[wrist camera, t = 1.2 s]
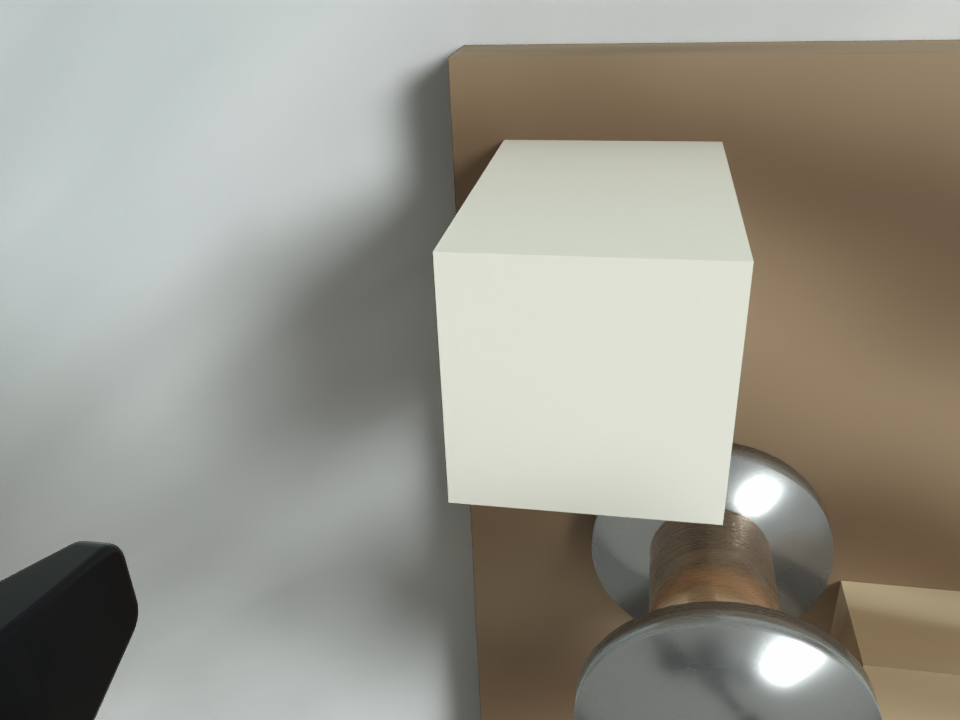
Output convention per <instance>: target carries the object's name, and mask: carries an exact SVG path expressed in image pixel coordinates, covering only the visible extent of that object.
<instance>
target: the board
mask: <svg viewBox="0 0 960 720" xmlns="http://www.w3.org/2000/svg"><path fill="white" fill-rule="evenodd" d="M448 62H449V82H450V102H451V123H452V143H453V163H454V184H455V204H456V214H457V213H458V211H459V210H460V208H461V207H462V205H463V204H464V202H465V200H466V199H467V197H468V196H469V194H470V193H471V191H472V189H473V188H474V186H475V185H476V183H477V182H478V180H479V178H480V177H481V175H482V174H483V172H484V171H485V169H486V167H487V166H488V164H489V163H490V161H491V160H492V158H493V156H494V155H495V153H496V152H497V150H498V149H499V147H500V145H501V144H502V142H503V141H504V140H583V141H704V142H723V146H724V150H725V154H726V158H727V161H728V165H729V169H730V173H731V177H732V181H733V184H734V188H735V192H736V196H737V200H738V204H739V207H740V211H741V215H742V219H743V223H744V226H745V230H746V234H747V238H748V242H749V246H750V249H751V253H752V257H753V261H754V264H753V273H752V281H751V290H750V298H749V307H748V315H747V324H746V332H745V341H744V349H743V358H742V366H741V375H740V383H739V392H738V400H737V409H736V417H735V426H734V434H733V443H735V444H740V445H744V446H748V447H752V448H755V449H757V450H760V451H763V452H766V453H768V454H770V455H772V456H774V457H776V458H778V459H780V460H782V461H783V462H785V463H786V464H788V465H789V466H791V467H792V468H793V469H795V470H796V471H797V472H798V473H799V474H800V475H802V476H803V477H804V478H805V479H806V480H807V482H808V483H809V484H810V485H811V486H812V487H813V489H814V490H815V492H816V493H817V495H818V496H819V498H820V500H821V502H822V504H823V507H824V509H825V511H826V515H827V519H828V522H829V526H830V530H831V534H832V538H833V544H834V560H833V567H832V571H831V574H830V578H829V580H828V582H827V584H826V586H825V588H824V590H823V591H822V593H821V594H820V596H819V597H818V599H817V600H816V601H815V602H814V603H813V604H812V605H811V606H810V607H809V609H808V610H806V611H805V612H804V613H803V614H801V615H800V616H799V617H798V618H800V619H802V620H804V621H806V622H808V623H810V624H813V625H815V626H816V627H818V628H820V629H821V630H823V631H824V632H826V633H828V634H829V635H830V632H831V627H832V622H833V617H834V612H835V607H836V602H837V597H838V592H839V587H840V582H841V581H850V582H861V583H872V584H883V585H894V586H905V587H916V588H927V589H938V590H949V591H960V40H898V41H806V42H714V43H622V44H530V45H464V46H462V47H461V48H460V49H458V50H457V51H456V52H455V53H453V54H452V55H451V56H449V57H448ZM470 508H471V529H472V549H473V569H474V589H475V610H476V630H477V650H478V670H479V691H480V711H481V720H573V718H574V708H575V699H576V690H577V682H578V678H579V675H580V672H581V669H582V667H583V665H584V663H585V661H586V659H587V658H588V656H589V655H590V653H591V652H592V651H593V650H594V648H595V647H596V646H597V645H598V644H599V643H600V642H601V641H602V640H603V639H604V638H605V637H606V636H607V635H608V634H610V633H611V632H612V631H614V630H615V629H617V628H618V627H619V626H621V625H622V624H624V623H626V622H628V621H630V620H632V619H634V618H633V617H632V616H630V615H629V614H628V613H627V612H625V611H624V610H623V609H622V608H621V607H620V606H619V605H618V604H617V603H616V602H615V601H614V600H613V599H612V598H611V597H610V595H609V594H608V593H607V592H606V590H605V589H604V587H603V585H602V583H601V582H600V580H599V578H598V575H597V573H596V570H595V567H594V563H593V558H592V545H591V544H592V535H593V525H594V517H595V515H593V514H581V513H569V512H557V511H545V510H532V509H520V508H508V507H496V506H484V505H472V504H470Z"/></svg>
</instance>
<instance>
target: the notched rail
mask: <svg viewBox="0 0 960 720" xmlns="http://www.w3.org/2000/svg"><path fill="white" fill-rule="evenodd" d="M830 635H831V636H832V637H834V638H835V639H836V640H837V641H838V642H840V643H841V644H842V645H843V646H844V647H846V648H847V649H848V650H849V651H850V653H851V654H852V655H853V656H854V657H855V658H856V659H857V660H858V661H859V663H860V664H861V666H862V667H863V669H864V670H865V672H866V673H867V675H868V677H869V679H870V681H871V684H872V686H873V688H874V691H875V695H876V699H877V702H878V706H879V710H880V713H881V717H882V720H960V591H949V590H938V589H927V588H916V587H905V586H894V585H883V584H872V583H861V582H850V581H841V582H840V587H839V592H838V597H837V602H836V607H835V612H834V617H833V622H832V627H831V632H830Z"/></svg>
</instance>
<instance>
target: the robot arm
mask: <svg viewBox="0 0 960 720" xmlns="http://www.w3.org/2000/svg"><path fill="white" fill-rule="evenodd" d="M137 618H138V603H137V599H136V596H135V592H134V589H133V585H132V581H131V578H130V574H129V571H128V567H127V564H126V560H125V557H124V554H123V552H122V551H121V549H120V548H119V547H118V546H116V545H114V544H110V543H100V542H90V541H79V542H75V543H73V544H71V545H69V546H67V547H65V548H63V549H61V550H59V551H57V552H56V553H54V554H52V555H50V556H48V557H46V558H44V559H42V560H40V561H38V562H36V563H34V564H33V565H31V566H29V567H27V568H25V569H23V570H21V571H19V572H17V573H15V574H13V575H11V576H10V577H8V578H6V579H4V580H2V581H0V720H94V719H95V717H96V715H97V713H98V710H99V708H100V706H101V704H102V702H103V699H104V697H105V695H106V693H107V690H108V688H109V686H110V684H111V681H112V679H113V677H114V675H115V672H116V670H117V668H118V666H119V663H120V661H121V659H122V657H123V654H124V652H125V650H126V648H127V645H128V643H129V641H130V639H131V637H132V634H133V632H134V629H135V627H136V623H137Z"/></svg>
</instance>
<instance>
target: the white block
mask: <svg viewBox="0 0 960 720" xmlns="http://www.w3.org/2000/svg"><path fill="white" fill-rule="evenodd" d="M753 264H754V261H753V257H752V253H751V249H750V246H749V242H748V238H747V234H746V230H745V226H744V223H743V219H742V215H741V211H740V207H739V204H738V200H737V196H736V192H735V188H734V184H733V181H732V177H731V173H730V169H729V165H728V161H727V158H726V154H725V150H724V146H723V142H704V141H583V140H504V141H503V142H502V144H501V145H500V147H499V149H498V150H497V152H496V153H495V155H494V156H493V158H492V160H491V161H490V163H489V164H488V166H487V167H486V169H485V171H484V172H483V174H482V175H481V177H480V178H479V180H478V182H477V183H476V185H475V186H474V188H473V189H472V191H471V193H470V194H469V196H468V197H467V199H466V200H465V202H464V204H463V205H462V207H461V208H460V210H459V211H458V213H457V214H456V216H455V218H454V219H453V221H452V222H451V224H450V225H449V227H448V229H447V230H446V232H445V233H444V235H443V236H442V238H441V240H440V241H439V243H438V244H437V246H436V247H435V249H434V251H433V265H434V280H435V296H436V312H437V328H438V343H439V359H440V375H441V391H442V406H443V422H444V438H445V454H446V470H447V485H448V501H449V503H459V504H472V505H484V506H496V507H508V508H520V509H532V510H545V511H557V512H569V513H581V514H593V515H606V516H618V517H630V518H642V519H654V520H666V521H679V522H691V523H703V524H715V525H723V520H724V511H725V503H726V494H727V486H728V477H729V468H730V460H731V451H732V443H733V434H734V426H735V417H736V409H737V400H738V392H739V383H740V375H741V366H742V358H743V349H744V341H745V332H746V324H747V315H748V307H749V298H750V290H751V281H752V273H753Z"/></svg>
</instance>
